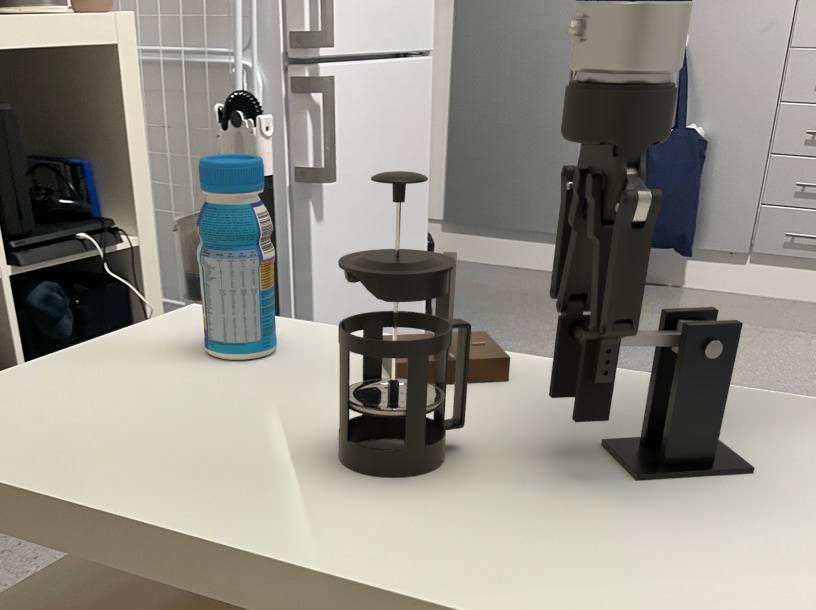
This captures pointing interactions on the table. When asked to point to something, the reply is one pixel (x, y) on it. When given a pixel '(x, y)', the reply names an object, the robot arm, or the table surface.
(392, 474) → the french press
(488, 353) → the brown box
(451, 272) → the dark gray upright plate
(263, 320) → the beverage bottle
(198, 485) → the table surface
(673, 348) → the lever
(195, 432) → the table surface
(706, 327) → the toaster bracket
